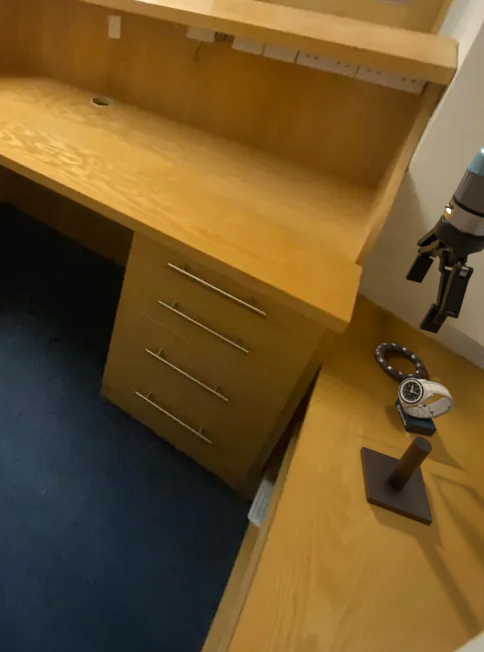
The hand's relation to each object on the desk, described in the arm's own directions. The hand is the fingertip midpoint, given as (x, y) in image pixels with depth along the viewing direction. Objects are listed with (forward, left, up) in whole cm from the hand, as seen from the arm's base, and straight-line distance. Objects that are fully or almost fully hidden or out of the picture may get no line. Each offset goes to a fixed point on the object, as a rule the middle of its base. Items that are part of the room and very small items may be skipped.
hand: (420, 303), depth 103 cm
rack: (+5, +31, -15) cm, 35 cm away
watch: (0, +17, -15) cm, 23 cm away
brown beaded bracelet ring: (0, +4, -14) cm, 14 cm away
